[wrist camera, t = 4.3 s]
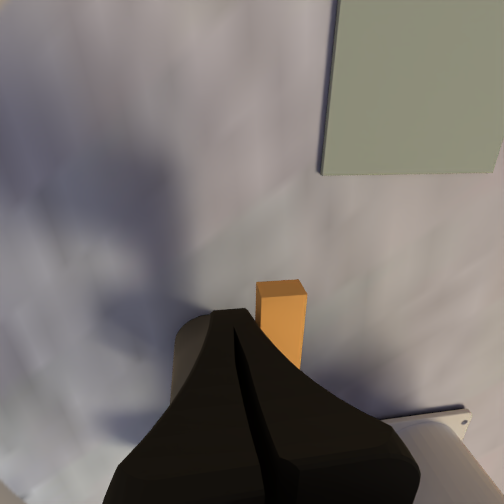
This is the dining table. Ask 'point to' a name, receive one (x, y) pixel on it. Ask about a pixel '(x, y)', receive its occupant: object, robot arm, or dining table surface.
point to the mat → (415, 88)
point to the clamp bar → (282, 315)
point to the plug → (187, 350)
